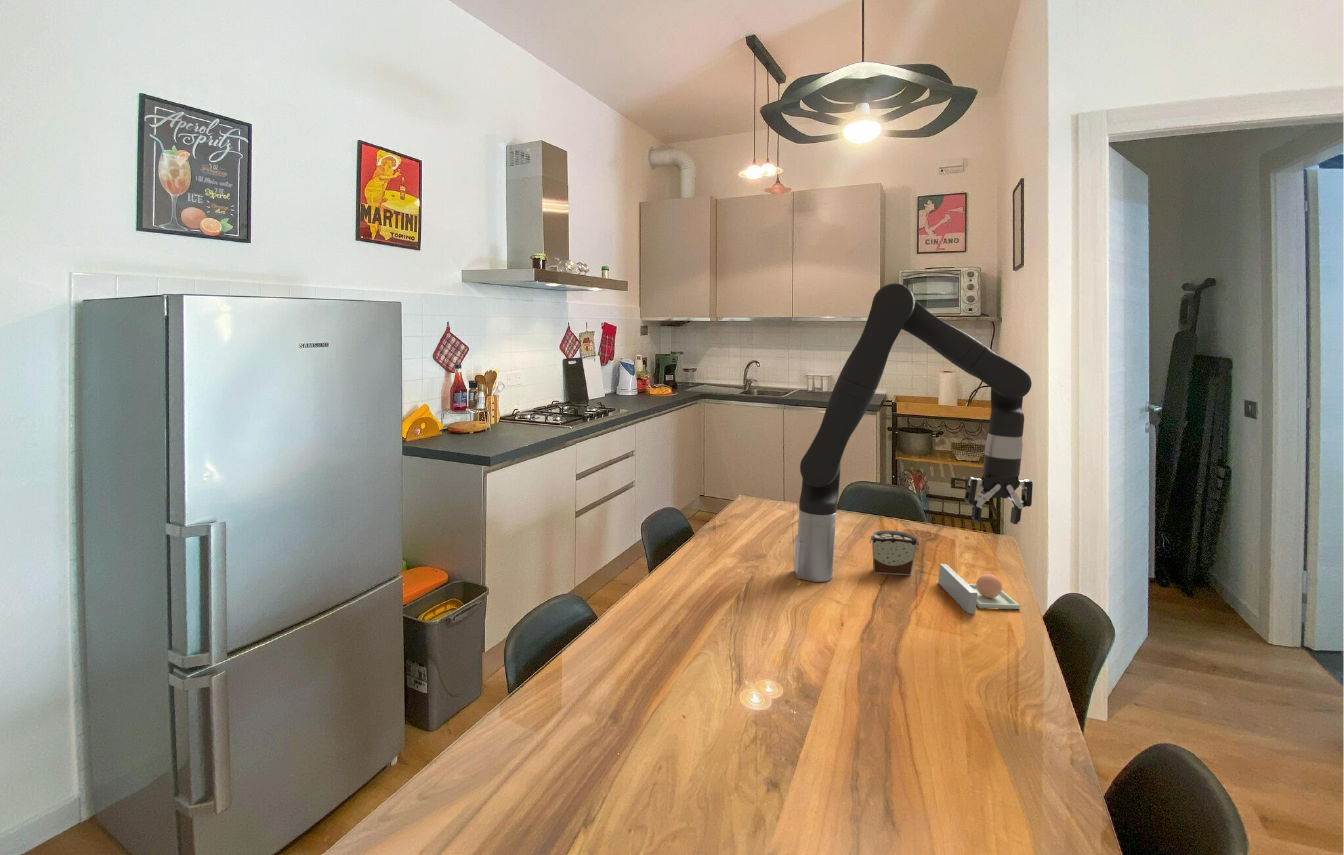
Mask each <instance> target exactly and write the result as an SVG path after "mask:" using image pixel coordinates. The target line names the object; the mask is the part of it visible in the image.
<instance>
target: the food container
mask: <svg viewBox="0 0 1344 855" xmlns="http://www.w3.org/2000/svg"><path fill="white" fill-rule="evenodd" d="M870 536H871V537H870V539H869V543H870V544H871V543H872V544H871V545H872V568H873V574H881V575H882V574H883V575H897V576H898V575H899V576H900V575H901V576H902V575H903V576H912V571H913V565H914V560H915V557H916V556H915V555H916V551H917V546H918V547H920V540H919V539H918V538H919V537H917V536H915V535H914V534H912V533H911V534H910V533H908V532H904V531H900V530H899V531H898V530H891V529H890V530H885V529H884V530H877V531H874V532H873V533H872V535H870Z"/></svg>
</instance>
